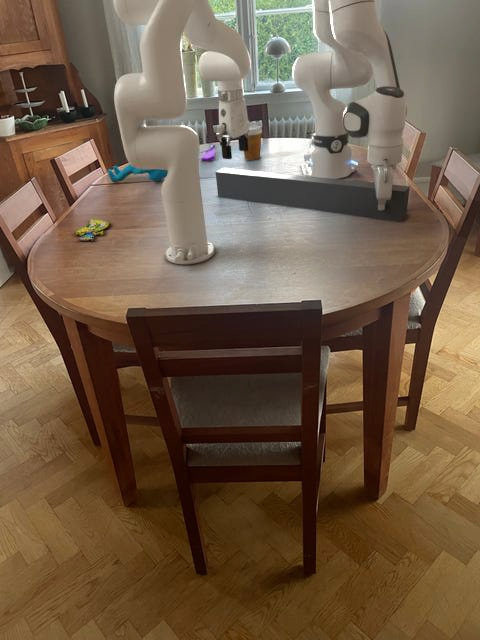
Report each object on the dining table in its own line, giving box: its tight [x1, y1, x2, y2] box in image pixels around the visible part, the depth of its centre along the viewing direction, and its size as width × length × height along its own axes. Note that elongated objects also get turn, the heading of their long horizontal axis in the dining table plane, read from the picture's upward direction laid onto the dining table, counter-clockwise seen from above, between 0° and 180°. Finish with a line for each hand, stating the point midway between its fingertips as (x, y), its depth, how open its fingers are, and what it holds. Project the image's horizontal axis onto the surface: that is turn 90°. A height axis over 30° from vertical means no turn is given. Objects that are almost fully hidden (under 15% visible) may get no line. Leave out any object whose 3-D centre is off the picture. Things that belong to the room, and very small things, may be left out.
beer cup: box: [243, 124, 263, 161], centre depth 196 cm, size 10×10×12 cm
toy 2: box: [107, 163, 168, 183], centre depth 182 cm, size 17×11×30 cm
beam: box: [215, 167, 411, 222], centre depth 146 cm, size 62×5×8 cm, turn 58°
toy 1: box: [74, 219, 111, 242], centre depth 143 cm, size 10×1×15 cm
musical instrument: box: [199, 144, 216, 162], centre depth 208 cm, size 24×2×20 cm
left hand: (235, 154), depth 152 cm, fingers open, 9 cm apart
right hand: (380, 204), depth 135 cm, fingers closed on beam, 5 cm apart
